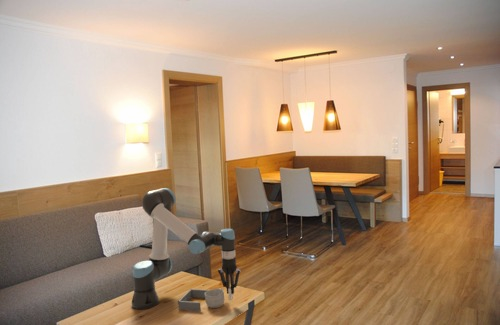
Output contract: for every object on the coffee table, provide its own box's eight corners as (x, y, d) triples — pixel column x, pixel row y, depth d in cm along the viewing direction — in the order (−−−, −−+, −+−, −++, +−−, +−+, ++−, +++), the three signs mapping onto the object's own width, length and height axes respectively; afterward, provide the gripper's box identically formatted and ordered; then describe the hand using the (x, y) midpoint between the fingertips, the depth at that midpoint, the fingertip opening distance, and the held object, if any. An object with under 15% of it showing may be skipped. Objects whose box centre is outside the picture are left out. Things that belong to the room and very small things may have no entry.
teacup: (215, 311, 218) (214, 297, 217) (201, 307, 224) (200, 293, 224) (232, 302, 229) (231, 288, 228) (217, 298, 235) (217, 285, 235)
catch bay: (178, 309, 223) (177, 301, 223) (191, 296, 240) (190, 289, 240) (200, 310, 220) (199, 302, 219) (211, 297, 237) (211, 290, 236)
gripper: (215, 259, 220) (217, 301, 222) (238, 260, 217) (240, 302, 219) (219, 254, 228) (221, 295, 229) (242, 255, 224) (244, 297, 226)
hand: (230, 299), depth 224 cm, fingers closed
